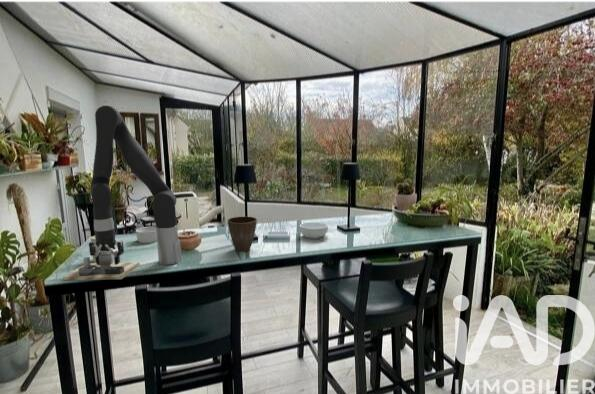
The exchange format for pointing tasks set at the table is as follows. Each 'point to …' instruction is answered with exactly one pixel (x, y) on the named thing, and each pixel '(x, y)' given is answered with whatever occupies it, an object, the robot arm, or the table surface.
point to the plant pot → (242, 232)
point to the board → (127, 269)
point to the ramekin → (147, 234)
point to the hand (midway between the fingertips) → (108, 264)
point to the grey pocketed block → (106, 259)
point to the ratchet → (97, 269)
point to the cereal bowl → (313, 230)
